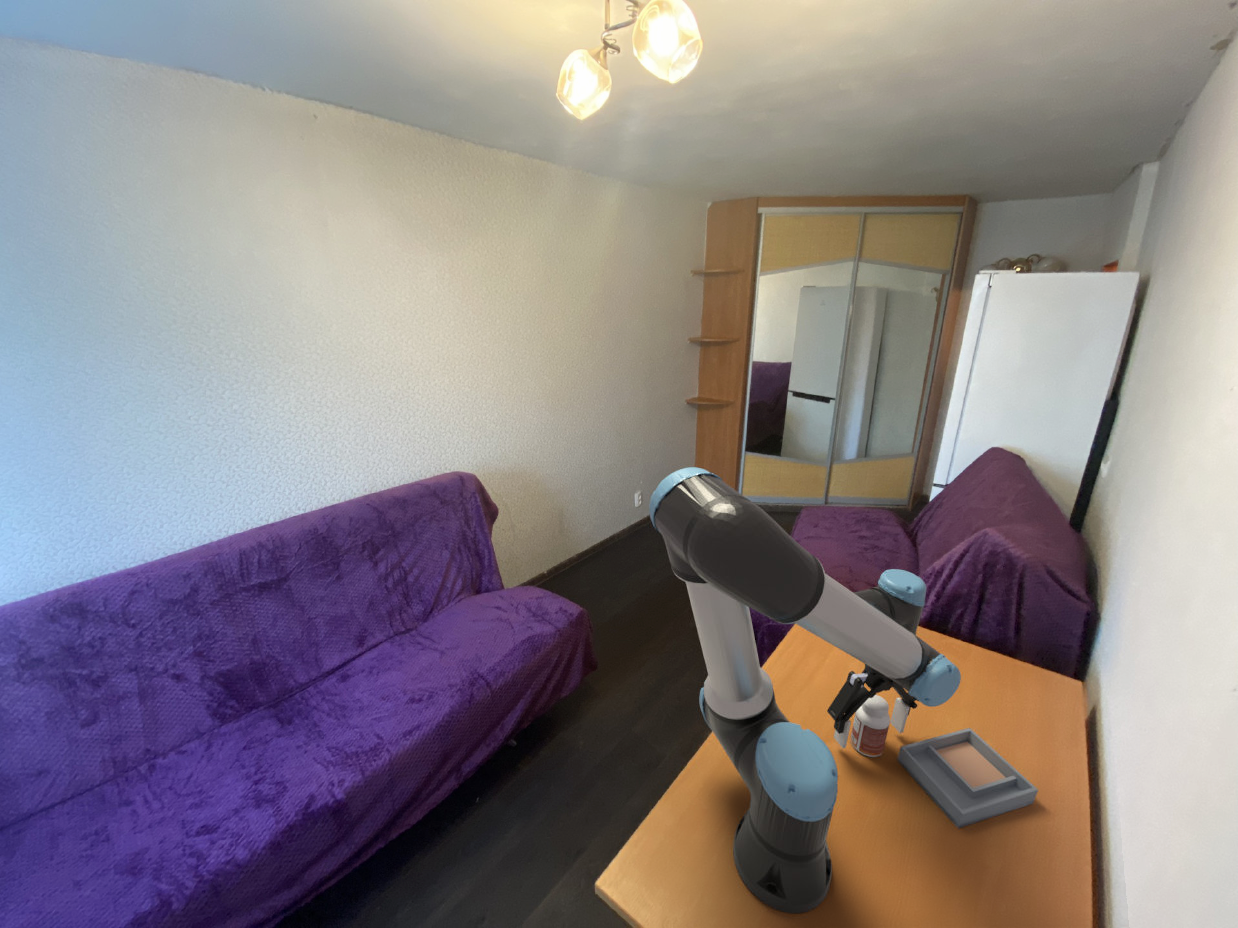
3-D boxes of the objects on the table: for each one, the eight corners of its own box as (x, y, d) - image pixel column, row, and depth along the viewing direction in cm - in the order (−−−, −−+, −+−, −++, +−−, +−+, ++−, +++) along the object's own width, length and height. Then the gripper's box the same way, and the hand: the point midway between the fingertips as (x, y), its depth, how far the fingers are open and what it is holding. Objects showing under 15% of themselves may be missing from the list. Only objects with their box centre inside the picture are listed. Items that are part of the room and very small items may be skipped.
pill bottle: (889, 749, 105) (900, 706, 102) (871, 763, 102) (881, 720, 98) (861, 728, 110) (870, 686, 107) (843, 741, 107) (852, 698, 103)
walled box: (957, 828, 91) (962, 814, 89) (897, 759, 103) (900, 746, 102) (1032, 803, 95) (1038, 789, 94) (965, 740, 108) (969, 727, 106)
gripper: (844, 675, 91) (826, 765, 99) (958, 649, 98) (933, 736, 105) (818, 647, 98) (803, 733, 106) (926, 625, 105) (905, 708, 112)
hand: (868, 735), depth 105 cm, fingers open, 13 cm apart
